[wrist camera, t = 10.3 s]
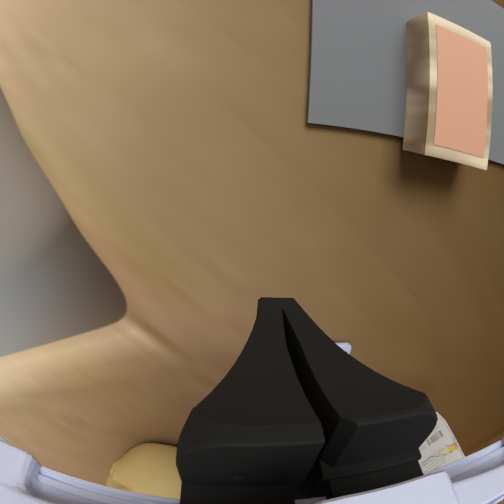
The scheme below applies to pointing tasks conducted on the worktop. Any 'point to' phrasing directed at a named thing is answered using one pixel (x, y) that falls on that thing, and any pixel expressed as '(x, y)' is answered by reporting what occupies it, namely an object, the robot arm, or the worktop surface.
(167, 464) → the beige lumpy ball
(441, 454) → the ink cartridge box
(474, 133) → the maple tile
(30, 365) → the worktop surface
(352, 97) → the mat
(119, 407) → the worktop surface
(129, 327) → the worktop surface
